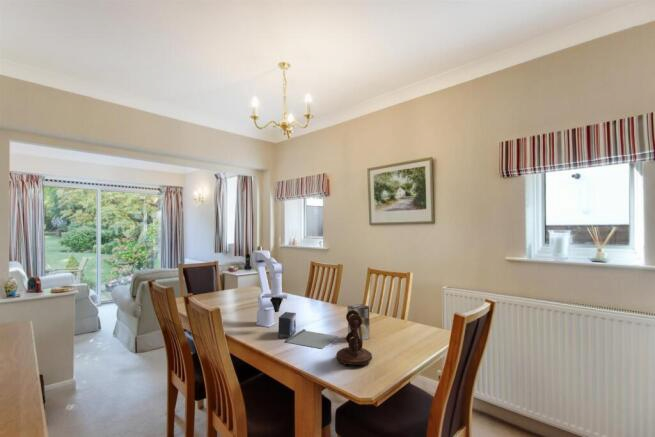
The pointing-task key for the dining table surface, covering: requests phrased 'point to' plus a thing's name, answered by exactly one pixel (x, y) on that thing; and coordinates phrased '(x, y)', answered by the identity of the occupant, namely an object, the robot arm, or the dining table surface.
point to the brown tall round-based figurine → (354, 343)
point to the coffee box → (364, 315)
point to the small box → (287, 325)
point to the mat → (311, 339)
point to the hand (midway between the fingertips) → (276, 311)
